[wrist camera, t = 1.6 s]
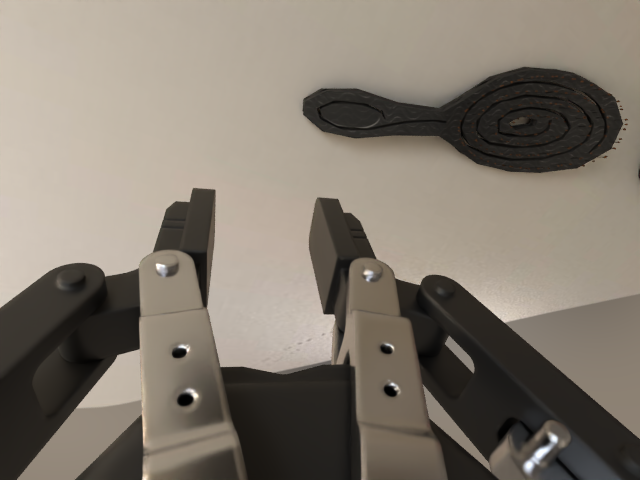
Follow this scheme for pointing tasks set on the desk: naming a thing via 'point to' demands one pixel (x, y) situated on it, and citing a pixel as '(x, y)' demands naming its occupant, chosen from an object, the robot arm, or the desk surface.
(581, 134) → the hairbrush
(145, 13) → the desk surface
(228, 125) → the desk surface
